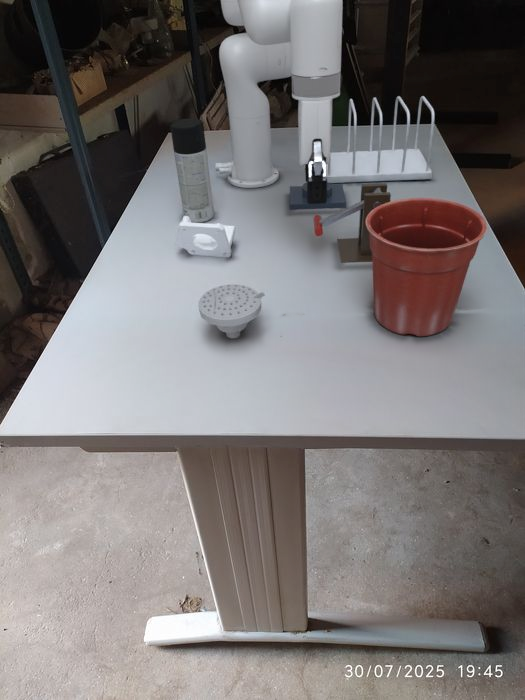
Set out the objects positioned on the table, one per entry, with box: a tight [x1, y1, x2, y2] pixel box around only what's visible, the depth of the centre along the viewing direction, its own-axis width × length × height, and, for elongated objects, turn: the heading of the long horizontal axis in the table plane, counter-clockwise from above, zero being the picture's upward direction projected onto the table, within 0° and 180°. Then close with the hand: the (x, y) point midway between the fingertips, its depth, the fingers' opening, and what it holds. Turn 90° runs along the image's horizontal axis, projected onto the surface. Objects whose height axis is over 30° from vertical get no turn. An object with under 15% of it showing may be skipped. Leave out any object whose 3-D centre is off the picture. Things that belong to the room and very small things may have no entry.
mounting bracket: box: [174, 215, 237, 259], centre depth 103 cm, size 12×6×11 cm, turn 76°
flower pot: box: [366, 197, 488, 337], centre depth 81 cm, size 16×16×16 cm
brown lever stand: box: [336, 182, 392, 264], centre depth 98 cm, size 12×9×13 cm
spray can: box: [169, 118, 215, 223], centre depth 112 cm, size 7×7×20 cm
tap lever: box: [313, 187, 381, 237], centre depth 97 cm, size 13×6×2 cm, turn 88°
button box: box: [289, 181, 347, 211], centre depth 120 cm, size 12×10×4 cm
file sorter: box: [322, 95, 435, 184], centre depth 130 cm, size 25×17×16 cm
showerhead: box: [197, 284, 266, 339], centre depth 82 cm, size 9×7×10 cm
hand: (315, 191), depth 94 cm, fingers open, 9 cm apart
